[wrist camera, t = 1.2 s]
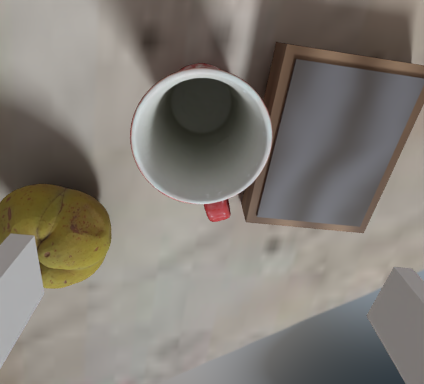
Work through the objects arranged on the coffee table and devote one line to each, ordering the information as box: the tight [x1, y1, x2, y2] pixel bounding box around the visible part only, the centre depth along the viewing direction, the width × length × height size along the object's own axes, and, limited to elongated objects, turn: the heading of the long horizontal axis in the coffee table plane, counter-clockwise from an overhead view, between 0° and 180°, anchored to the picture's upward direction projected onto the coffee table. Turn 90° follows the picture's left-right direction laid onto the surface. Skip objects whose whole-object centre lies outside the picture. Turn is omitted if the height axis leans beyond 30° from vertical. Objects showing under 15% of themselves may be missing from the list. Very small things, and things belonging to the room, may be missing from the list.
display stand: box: [241, 42, 424, 233], centre depth 32 cm, size 14×18×4 cm
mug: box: [130, 63, 273, 222], centre depth 26 cm, size 13×9×14 cm
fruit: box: [0, 184, 111, 288], centre depth 32 cm, size 11×12×10 cm
